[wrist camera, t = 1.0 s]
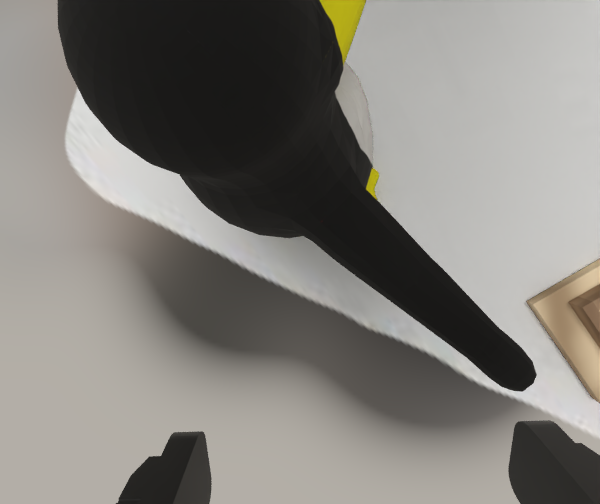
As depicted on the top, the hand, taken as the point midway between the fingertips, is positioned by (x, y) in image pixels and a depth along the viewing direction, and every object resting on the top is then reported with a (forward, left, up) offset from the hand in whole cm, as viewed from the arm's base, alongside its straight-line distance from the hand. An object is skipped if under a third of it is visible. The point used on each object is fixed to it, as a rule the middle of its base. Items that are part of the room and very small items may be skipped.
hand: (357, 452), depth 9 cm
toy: (-7, -10, -28) cm, 31 cm away
